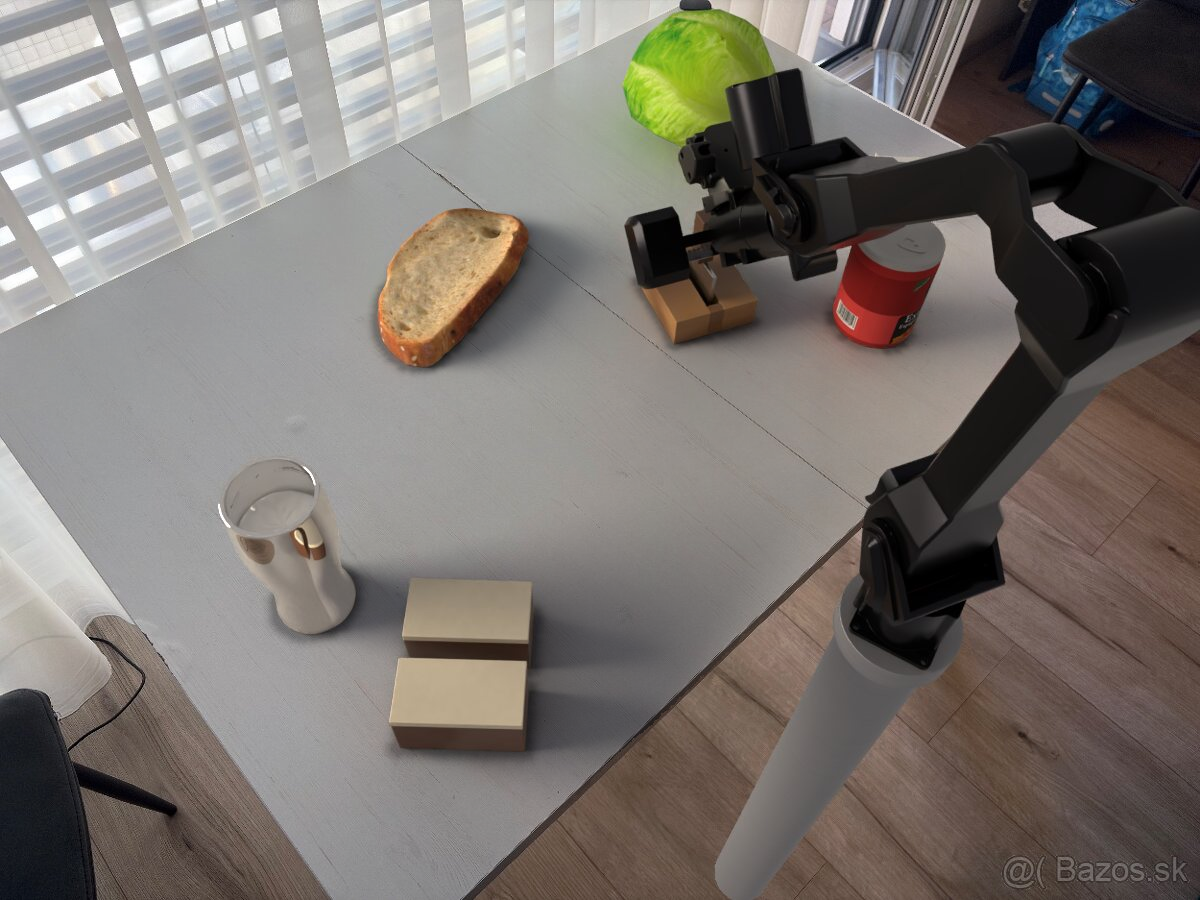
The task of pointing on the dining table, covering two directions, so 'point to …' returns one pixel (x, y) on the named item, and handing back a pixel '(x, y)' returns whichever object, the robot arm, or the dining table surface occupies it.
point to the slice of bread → (447, 281)
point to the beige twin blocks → (464, 665)
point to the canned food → (887, 285)
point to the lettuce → (692, 71)
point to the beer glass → (289, 540)
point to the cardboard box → (703, 305)
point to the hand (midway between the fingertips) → (698, 236)
